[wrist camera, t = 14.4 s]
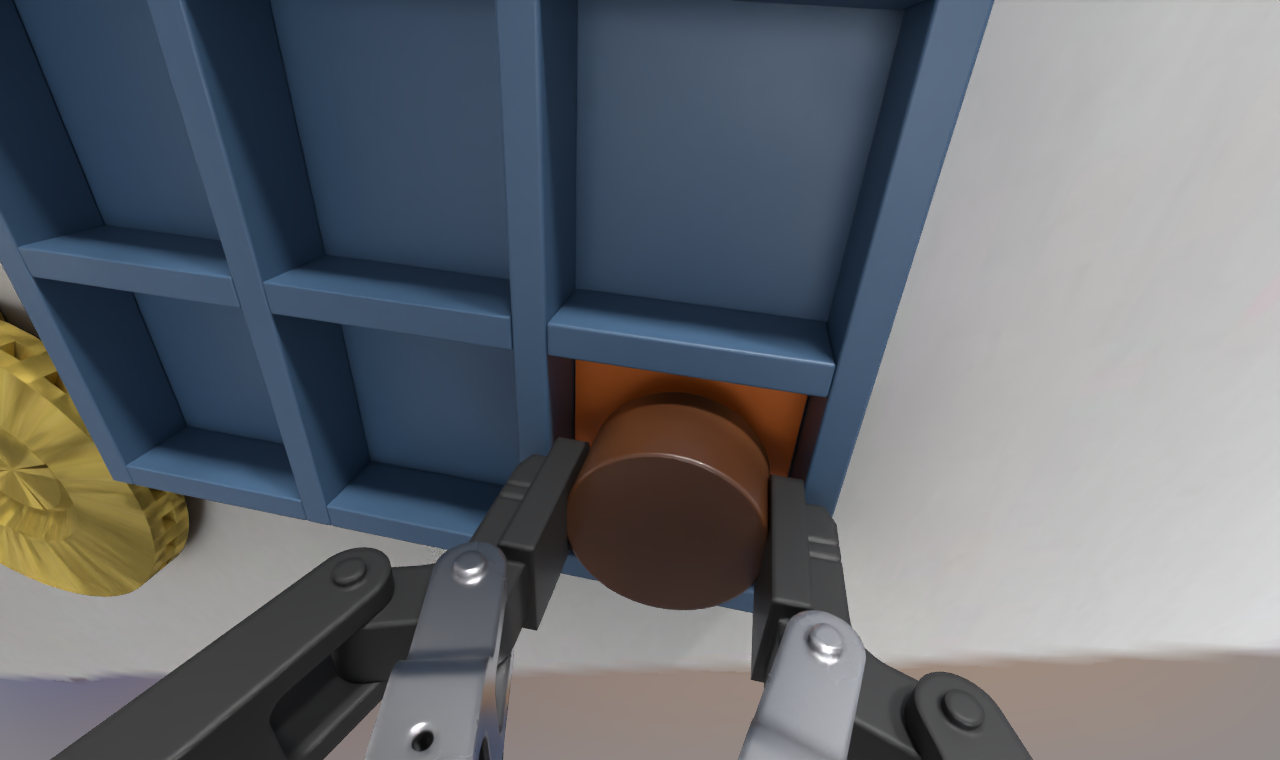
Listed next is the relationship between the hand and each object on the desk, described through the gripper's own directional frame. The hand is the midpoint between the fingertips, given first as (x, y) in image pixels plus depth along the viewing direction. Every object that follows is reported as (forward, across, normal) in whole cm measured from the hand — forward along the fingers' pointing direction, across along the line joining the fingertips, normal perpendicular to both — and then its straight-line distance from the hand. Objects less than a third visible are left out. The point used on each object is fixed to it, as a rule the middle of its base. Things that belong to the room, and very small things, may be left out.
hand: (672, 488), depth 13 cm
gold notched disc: (+3, +24, +6) cm, 25 cm away
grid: (+3, +7, -3) cm, 8 cm away
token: (+1, 0, 0) cm, 1 cm away
